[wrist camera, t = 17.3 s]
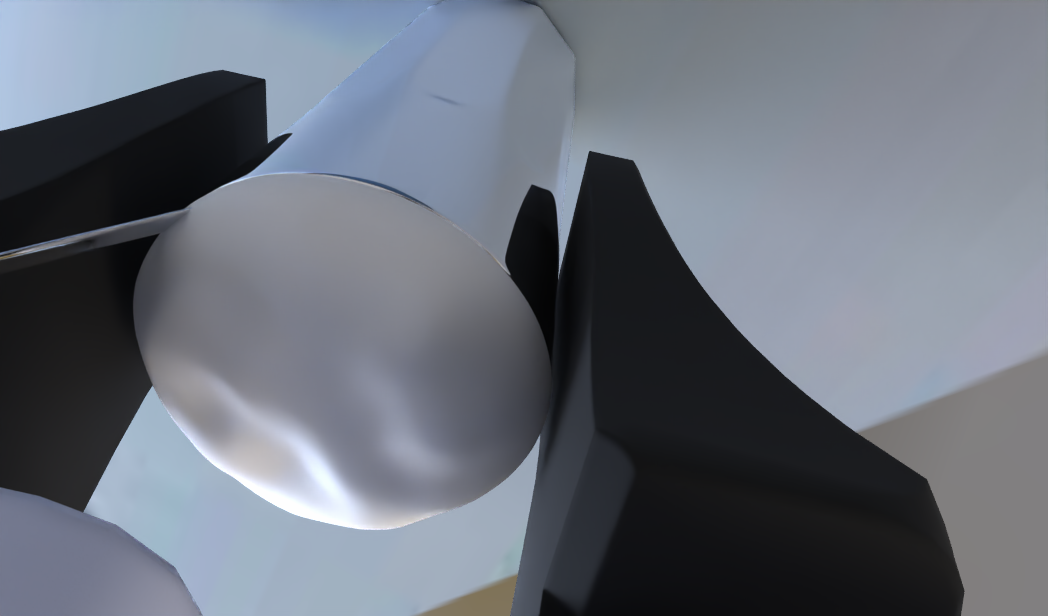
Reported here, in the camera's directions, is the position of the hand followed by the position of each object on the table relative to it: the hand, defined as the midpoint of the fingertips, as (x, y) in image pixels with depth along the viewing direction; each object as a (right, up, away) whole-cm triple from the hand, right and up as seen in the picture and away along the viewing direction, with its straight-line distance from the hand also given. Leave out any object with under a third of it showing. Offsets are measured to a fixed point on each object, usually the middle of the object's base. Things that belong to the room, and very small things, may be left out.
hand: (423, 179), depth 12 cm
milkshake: (+1, +3, +4) cm, 5 cm away
